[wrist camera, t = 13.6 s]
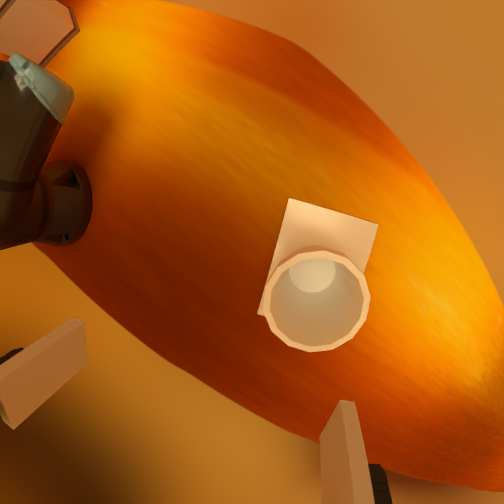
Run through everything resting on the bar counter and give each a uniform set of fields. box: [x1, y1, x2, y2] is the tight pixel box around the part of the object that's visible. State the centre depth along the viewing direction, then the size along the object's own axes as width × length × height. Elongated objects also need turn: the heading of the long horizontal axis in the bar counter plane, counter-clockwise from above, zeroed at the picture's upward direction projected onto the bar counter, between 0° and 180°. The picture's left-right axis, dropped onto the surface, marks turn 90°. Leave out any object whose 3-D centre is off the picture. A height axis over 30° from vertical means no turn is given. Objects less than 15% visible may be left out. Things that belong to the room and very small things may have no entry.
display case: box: [0, 0, 80, 67], centre depth 21 cm, size 11×11×35 cm
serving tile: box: [257, 198, 378, 316], centre depth 38 cm, size 12×16×2 cm
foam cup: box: [263, 245, 370, 352], centre depth 31 cm, size 10×9×13 cm
